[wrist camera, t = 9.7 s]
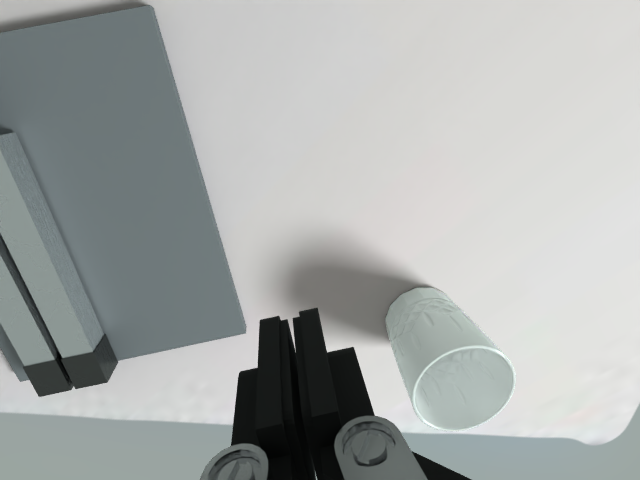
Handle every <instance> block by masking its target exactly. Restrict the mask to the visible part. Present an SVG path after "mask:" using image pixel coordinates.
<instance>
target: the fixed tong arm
mask: <svg viewBox="0 0 640 480" xmlns="http://www.w3.org/2000/svg"><path fill="white" fill-rule="evenodd" d="M0 323H1V325H2V327H3V329H4V330H5V332H6V334H7V336H8V338H9V339H10V341H11V343H12V345H13V347H14V348H15V350H16V352H17V354H18V356H19V357H20V359H21V361H22V363H23V364H24V367H23V369H24V371H25V373H26V374H27V376H28V378H29V380H30V382H31V383H32V385H33V387H34V389H35V390H36V392H37V394H38V396H39V397H41V396H46V395H50V394H55V393H60V392H64V391H69V390H71V389H72V388H73V386H74V385H73V383H72V381H71V379H70V377H69V375H68V373H67V371H66V369H65V367H64V365H63V363H62V361H61V359H62V356H61V354H60V352H59V350H58V348H57V346H56V344H55V342H54V340H53V338H52V336H51V334H50V332H49V330H48V328H47V326H46V324H45V322H44V320H43V318H42V316H41V314H40V312H39V310H38V308H37V306H36V304H35V302H34V300H33V298H32V296H31V294H30V292H29V290H28V288H27V286H26V284H25V282H24V280H23V278H22V276H21V274H20V271H19V269H18V267H17V265H16V263H15V261H14V259H13V257H12V255H11V253H10V251H9V249H8V247H7V245H6V243H5V241H4V239H3V237H2V235H1V233H0Z"/></svg>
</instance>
